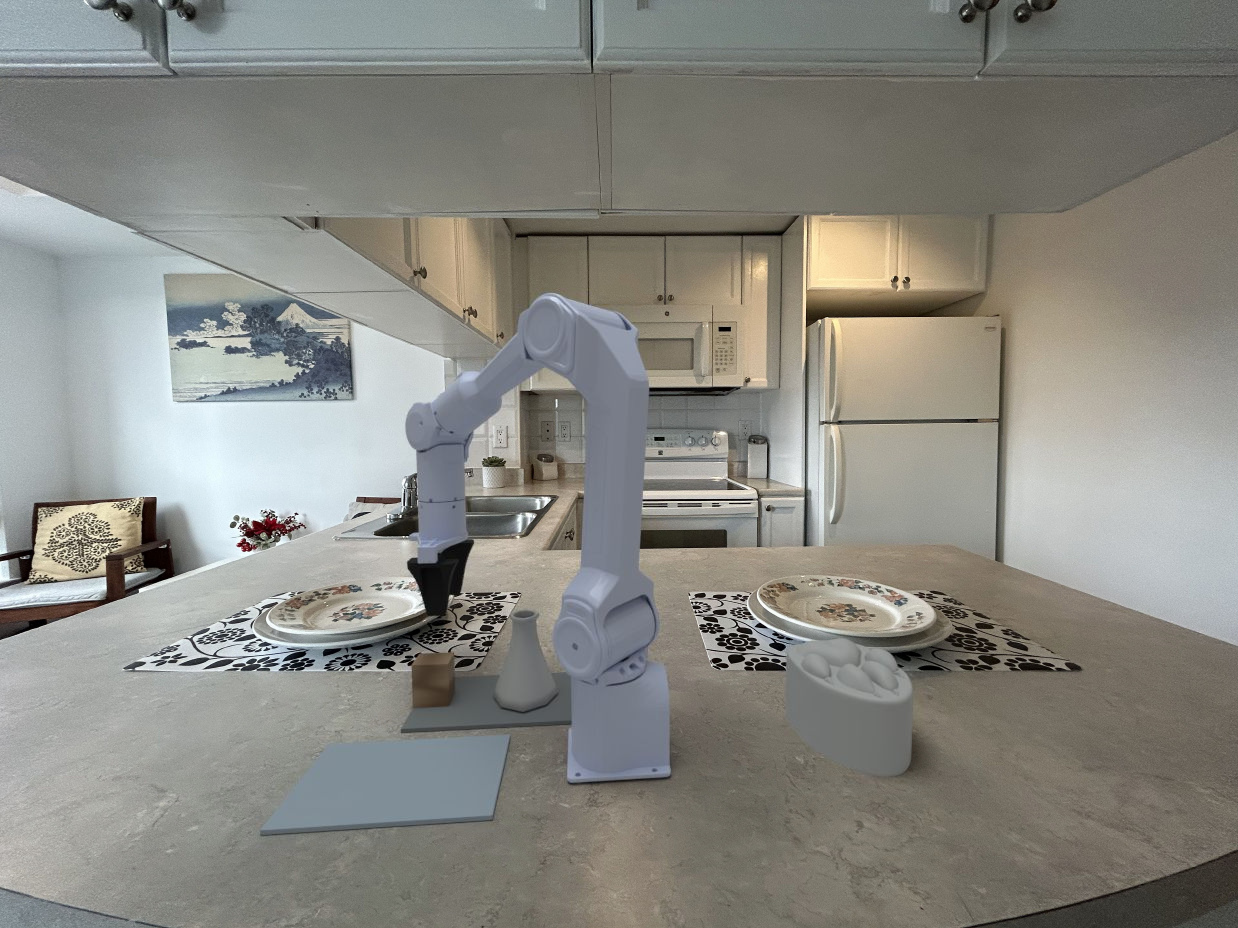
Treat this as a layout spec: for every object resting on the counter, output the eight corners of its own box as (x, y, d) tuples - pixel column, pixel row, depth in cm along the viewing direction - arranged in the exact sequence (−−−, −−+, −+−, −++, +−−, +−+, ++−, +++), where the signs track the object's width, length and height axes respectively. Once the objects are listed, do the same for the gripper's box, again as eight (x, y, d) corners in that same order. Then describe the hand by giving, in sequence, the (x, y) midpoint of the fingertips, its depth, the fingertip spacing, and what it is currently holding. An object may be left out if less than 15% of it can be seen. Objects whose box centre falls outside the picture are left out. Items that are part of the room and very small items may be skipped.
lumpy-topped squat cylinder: (855, 697, 60) (857, 626, 60) (942, 769, 47) (946, 680, 47) (773, 705, 58) (774, 632, 58) (841, 783, 46) (844, 690, 45)
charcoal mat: (573, 674, 66) (572, 634, 65) (572, 723, 55) (571, 675, 54) (430, 680, 64) (429, 639, 64) (400, 732, 53) (398, 683, 53)
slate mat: (510, 738, 52) (510, 734, 52) (492, 819, 41) (492, 815, 41) (328, 747, 51) (328, 743, 51) (260, 834, 40) (260, 830, 40)
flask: (529, 675, 65) (527, 598, 64) (569, 693, 60) (568, 611, 60) (481, 698, 59) (479, 615, 59) (521, 720, 55) (520, 630, 54)
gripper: (426, 492, 71) (429, 587, 72) (388, 508, 57) (392, 626, 58) (477, 491, 72) (479, 585, 73) (452, 507, 57) (455, 624, 58)
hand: (445, 604), depth 65 cm, fingers open, 7 cm apart
